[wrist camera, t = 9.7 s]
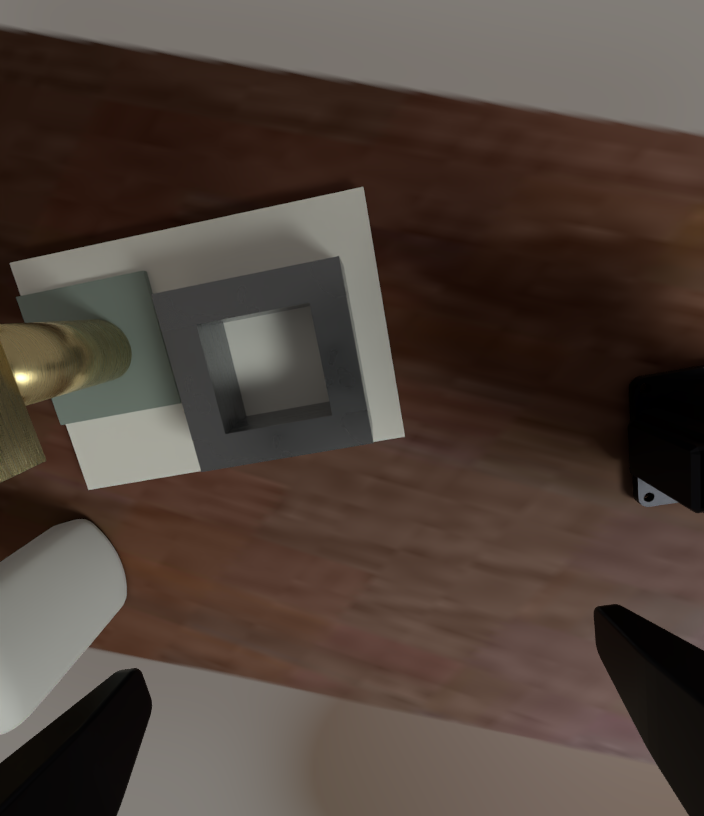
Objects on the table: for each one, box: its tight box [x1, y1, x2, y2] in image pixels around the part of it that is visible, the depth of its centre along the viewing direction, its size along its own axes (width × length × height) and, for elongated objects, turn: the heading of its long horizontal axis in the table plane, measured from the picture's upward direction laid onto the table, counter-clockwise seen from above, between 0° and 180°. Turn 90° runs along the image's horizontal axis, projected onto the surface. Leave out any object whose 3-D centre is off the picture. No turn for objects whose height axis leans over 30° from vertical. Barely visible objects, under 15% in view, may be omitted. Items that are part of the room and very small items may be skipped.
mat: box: [16, 271, 182, 425], centre depth 19 cm, size 6×6×1 cm
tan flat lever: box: [0, 319, 132, 483], centre depth 15 cm, size 6×3×8 cm, turn 11°
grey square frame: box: [151, 256, 373, 472], centre depth 17 cm, size 7×7×3 cm
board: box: [9, 187, 405, 490], centre depth 19 cm, size 16×11×1 cm
